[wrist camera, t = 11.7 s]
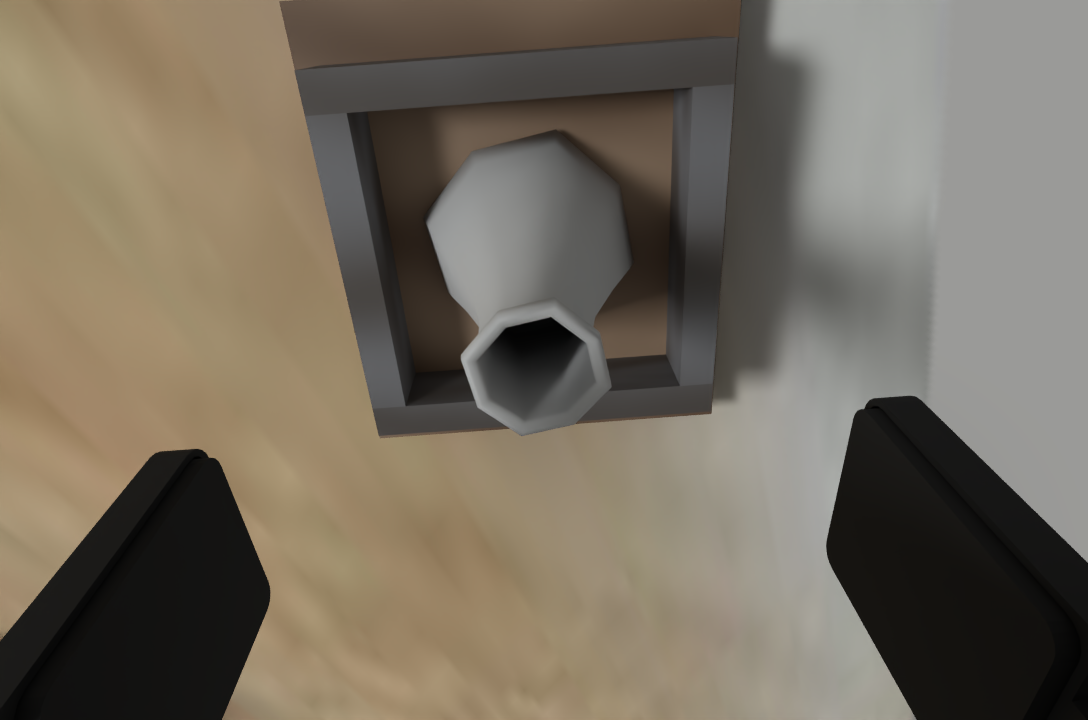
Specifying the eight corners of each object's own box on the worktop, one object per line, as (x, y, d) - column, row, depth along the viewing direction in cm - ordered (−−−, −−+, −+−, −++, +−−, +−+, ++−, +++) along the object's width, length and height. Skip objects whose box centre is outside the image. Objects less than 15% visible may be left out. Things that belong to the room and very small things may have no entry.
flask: (564, 87, 20) (599, 134, 11) (665, 266, 23) (754, 414, 14) (387, 207, 22) (296, 330, 13) (503, 360, 25) (493, 545, 16)
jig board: (295, 3, 20) (246, -3, 17) (728, -30, 20) (773, -42, 17) (386, 418, 28) (367, 475, 24) (702, 395, 28) (728, 449, 24)
